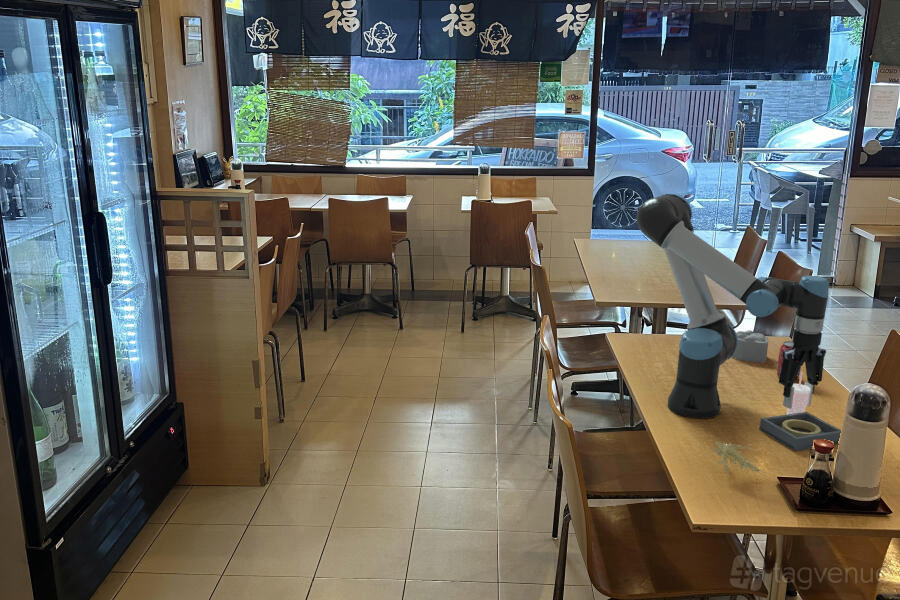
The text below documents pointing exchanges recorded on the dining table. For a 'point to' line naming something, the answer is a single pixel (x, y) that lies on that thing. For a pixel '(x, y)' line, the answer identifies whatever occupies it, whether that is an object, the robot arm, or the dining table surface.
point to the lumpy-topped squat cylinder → (751, 346)
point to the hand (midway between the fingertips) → (796, 405)
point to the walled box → (798, 430)
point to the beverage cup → (799, 398)
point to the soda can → (785, 347)
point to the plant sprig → (729, 451)
